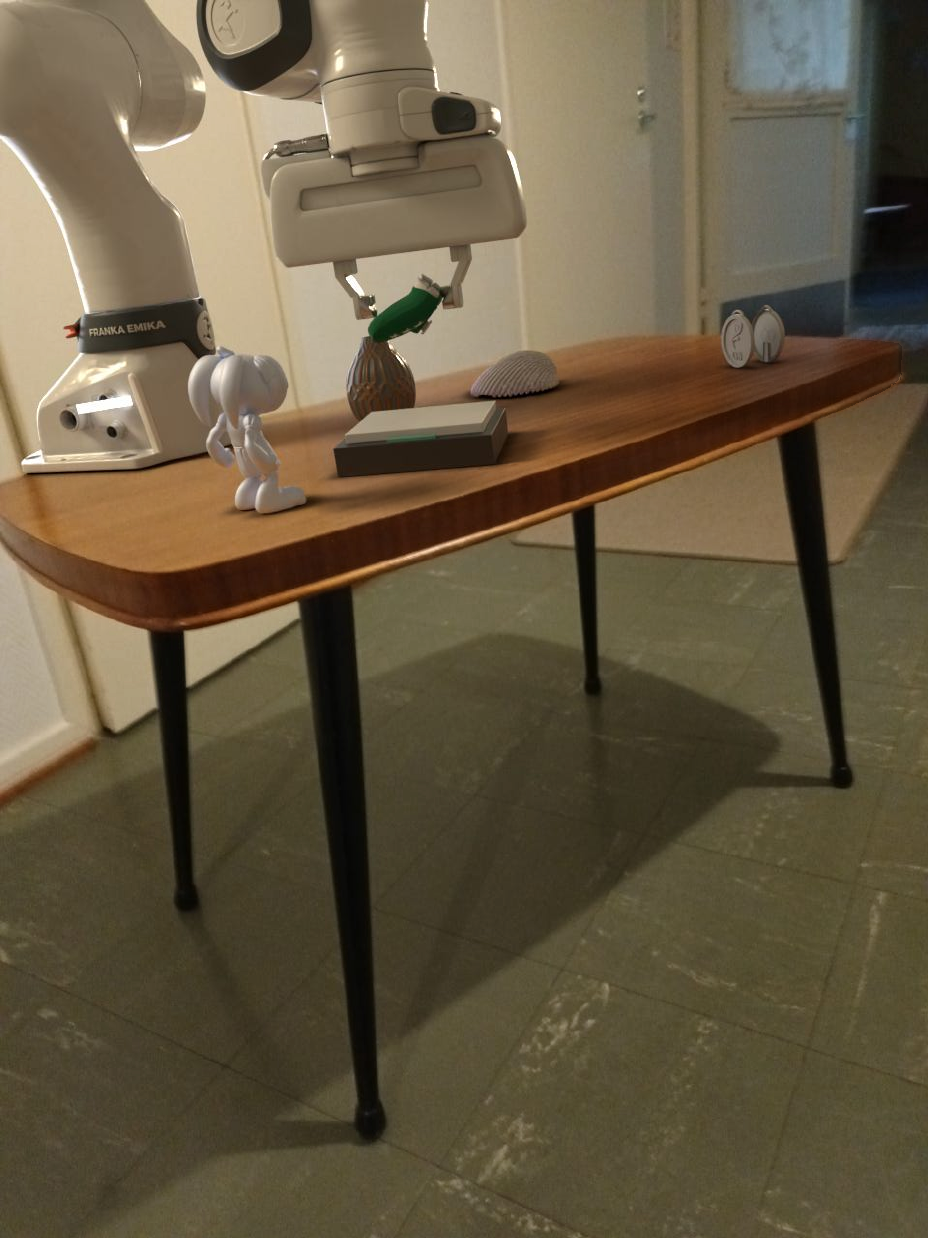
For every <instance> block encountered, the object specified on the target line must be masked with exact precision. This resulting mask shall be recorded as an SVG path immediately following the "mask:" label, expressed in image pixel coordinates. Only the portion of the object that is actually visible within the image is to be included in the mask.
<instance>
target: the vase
mask: <svg viewBox="0 0 928 1238" xmlns="http://www.w3.org/2000/svg"><path fill="white" fill-rule="evenodd" d="M345 388H346V397H347V401H348V405H349V407H350V410H351V412H352V414H353V416H354V418H356V420H357V421H358V423H359V422H361V421H362V420H363V419H364V418H365V417H366V416H368V415H369V414H370V413H371V412H378V411H388V410H399V409H410V408H415V405H416V400H417V399H416V398H417V389H416V382H415V377H414V373H413V372H412V369H411V368H410V365H409V364H408V362H407V360H406V359H405V358H404V357H403V355H401V354H400V352H398V350H397V349H396V348H394V346H393V345H392V344H391V342H390V340H388V341H385V342H381V343H376V342H374V341H373V339H372V338H371V337H370V336H369V335H368V336H363V337H361V338H360V342H359V346H358V349H357V351H356V353H355V355H354V357H353V358H352V360H351V363H350V365H349V367H348V370H347V375H346V382H345Z"/></svg>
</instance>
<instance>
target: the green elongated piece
mask: <svg viewBox="0 0 928 1238" xmlns="http://www.w3.org/2000/svg"><path fill="white" fill-rule="evenodd" d="M440 287H441V286H440V285H439V284H438V283H437V282H434V280H433V279H432V278H431V277H429V276H427V275H424V274H423V273H422V274H421V278H420V277H419V276H417V277H416V282H415V284H414V285H413V286H412V287H411V290H410V292H409V293H407V295H405V296H403V297H402V298H400V299H398V300H397V301H395V302H393V303H392V304H391V305H389V306H388V307H387V308H385V309H384V310H383V311H382V312H380V313H378V314H377V316H376V317H375V318H372V321H370V323H369V325H368V327H367V333H368V336H370V337H371V338H372V339H373V341H374V342H376V343H381V342H385V341H391V340H394V339H396V338H399V337H402V336H405V335H407V334H409V333H410V332H411V333H413V334H416V335H417V334H419V333H420V335H424V334H425V333H426V332H427V330H428V329H429V328H430V327H431V325H432V324H433V320H432V319H430V318H431V317H432V315H434V312H435V311H436V310H437V309H438V307H439V306H440V304H442V301H443V299H444V298H443V297H442V296H441V290H440ZM429 319H430V320H429Z"/></svg>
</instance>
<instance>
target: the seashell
mask: <svg viewBox="0 0 928 1238" xmlns="http://www.w3.org/2000/svg"><path fill="white" fill-rule="evenodd" d="M557 373H558V371H557V366H556V364H555V361H554V360H553V359H552V358H551V356H549V355H548V354H546V353H543V352H542V351H538V350H530V349H529V350H519V351H516V352H515V351H514V352H512V353H509V354H508V355H505V356H503V357H502V358H500V359H499V360H497V361H495V362H494V363H493V364H491V365H490V366H489V367H487V368H486V369H485V370H484V371H483V372H482V373H481V374H480V375H479V376H478V378H477V379H475V382H474V383H473V384H472V386H471V389H470V395H471V396H472V397H474V398H475V397H476V398H479V397H481V396H482V395H483V396H489V397H490V396H491V397H492V398H497V397H498V398H501V397H502V398H503V397H508V396H509V398H510V397H512V396H513V395H514V396H515V397H517V396H519V395H520V396H521V395H523V394H524V393H525V394H526V395H527V394H529V393H530V392H531V393H532V394H533V393H534V392H536V393H538V392H540V391H541V392H543V391H545V390H548V389H552V388H555V387H557V386H558V385H559V384H560V379H559V378H558V377H557Z"/></svg>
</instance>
